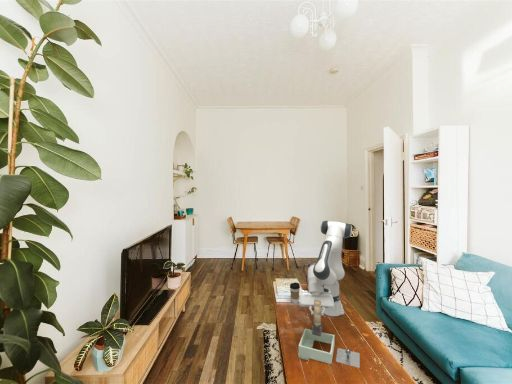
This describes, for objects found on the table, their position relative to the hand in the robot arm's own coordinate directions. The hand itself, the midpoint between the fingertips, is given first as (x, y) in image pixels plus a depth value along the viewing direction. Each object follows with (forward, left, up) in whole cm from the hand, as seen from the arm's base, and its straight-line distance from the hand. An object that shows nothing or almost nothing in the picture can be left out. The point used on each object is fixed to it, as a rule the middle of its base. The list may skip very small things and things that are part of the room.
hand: (317, 315), depth 142 cm
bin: (-1, 0, -22) cm, 23 cm away
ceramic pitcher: (-81, -15, -23) cm, 85 cm away
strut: (0, 0, -11) cm, 11 cm away
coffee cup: (-56, -27, -23) cm, 66 cm away
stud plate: (-1, +17, -22) cm, 28 cm away
